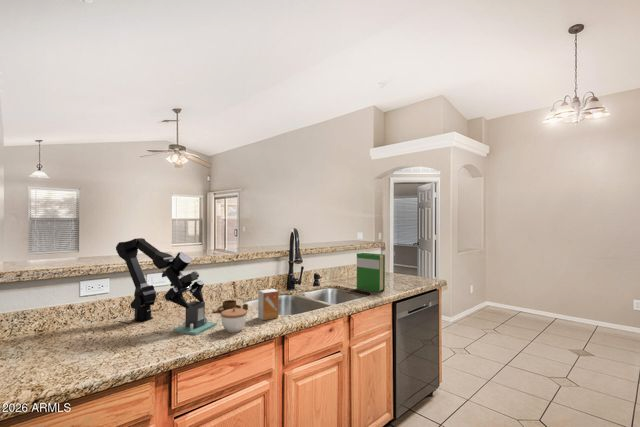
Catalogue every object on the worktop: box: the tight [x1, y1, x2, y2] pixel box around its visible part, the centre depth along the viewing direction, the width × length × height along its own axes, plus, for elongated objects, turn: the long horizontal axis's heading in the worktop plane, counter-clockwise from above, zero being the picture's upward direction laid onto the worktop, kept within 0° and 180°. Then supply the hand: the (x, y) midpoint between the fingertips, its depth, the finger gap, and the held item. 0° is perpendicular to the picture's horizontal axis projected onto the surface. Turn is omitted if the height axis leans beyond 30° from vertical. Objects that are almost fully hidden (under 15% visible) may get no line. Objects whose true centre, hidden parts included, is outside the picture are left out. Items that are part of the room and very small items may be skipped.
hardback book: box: [356, 252, 386, 293], centre depth 220 cm, size 18×7×24 cm, turn 50°
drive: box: [184, 300, 206, 329], centre depth 141 cm, size 6×5×10 cm
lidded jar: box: [220, 308, 248, 333], centre depth 139 cm, size 11×11×9 cm
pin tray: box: [172, 317, 217, 336], centre depth 141 cm, size 12×13×4 cm
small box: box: [257, 288, 280, 321], centre depth 157 cm, size 8×6×13 cm
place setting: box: [212, 299, 249, 314], centre depth 165 cm, size 18×20×6 cm
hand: (195, 305), depth 141 cm, fingers open, 9 cm apart
